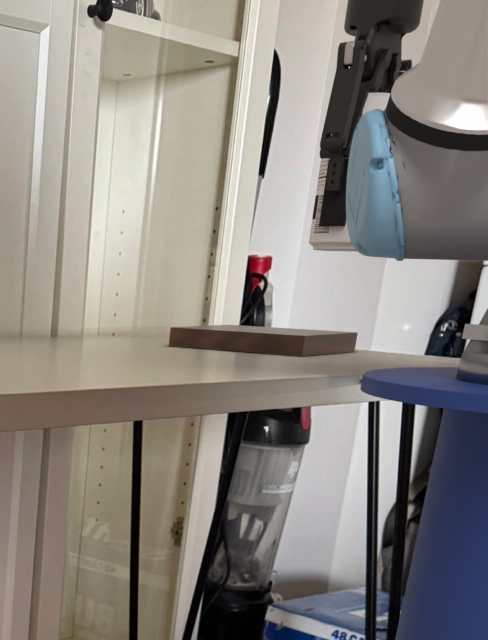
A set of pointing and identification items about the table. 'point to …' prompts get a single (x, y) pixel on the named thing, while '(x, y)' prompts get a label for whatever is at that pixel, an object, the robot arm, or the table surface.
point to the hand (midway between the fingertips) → (349, 228)
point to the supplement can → (329, 235)
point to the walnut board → (263, 339)
